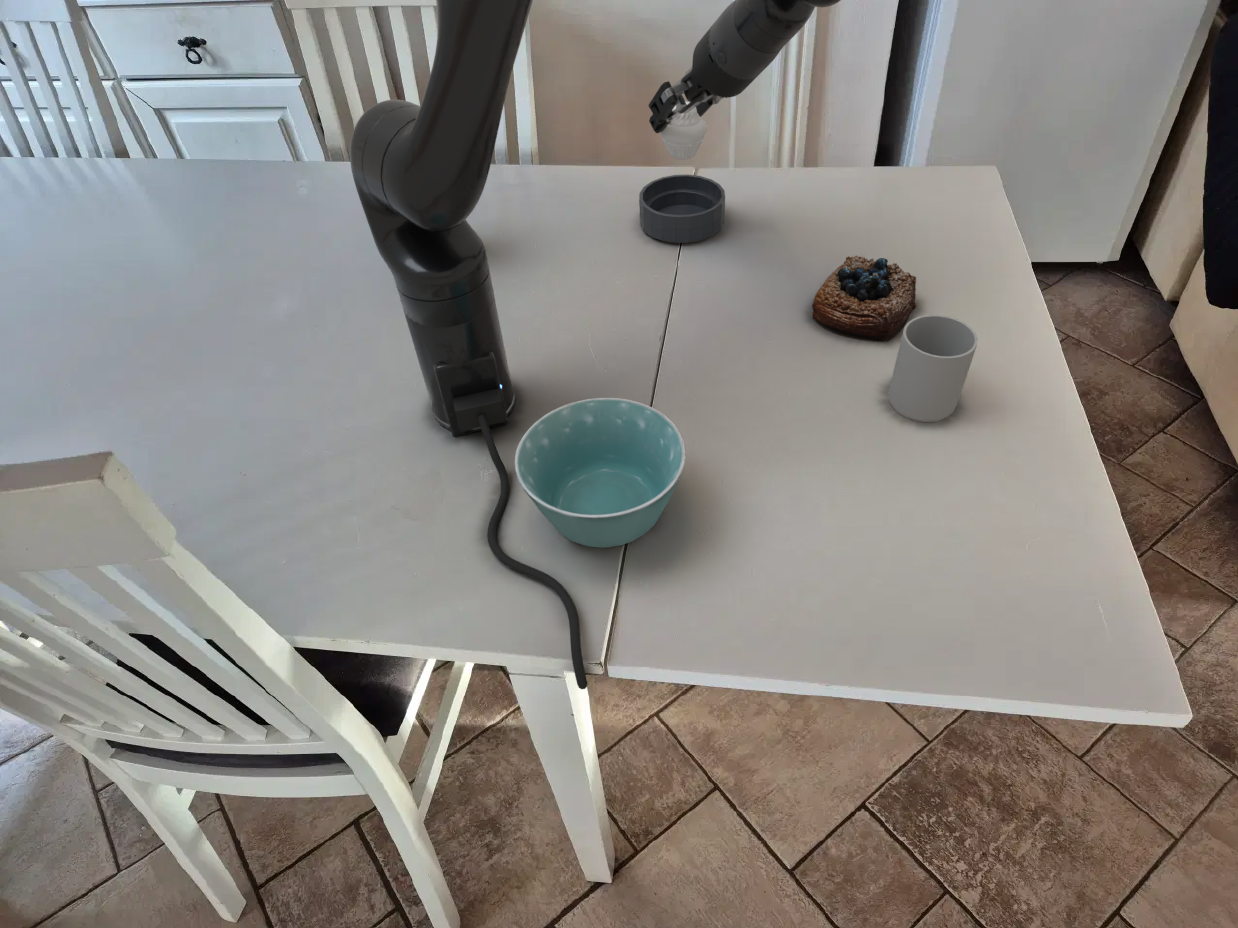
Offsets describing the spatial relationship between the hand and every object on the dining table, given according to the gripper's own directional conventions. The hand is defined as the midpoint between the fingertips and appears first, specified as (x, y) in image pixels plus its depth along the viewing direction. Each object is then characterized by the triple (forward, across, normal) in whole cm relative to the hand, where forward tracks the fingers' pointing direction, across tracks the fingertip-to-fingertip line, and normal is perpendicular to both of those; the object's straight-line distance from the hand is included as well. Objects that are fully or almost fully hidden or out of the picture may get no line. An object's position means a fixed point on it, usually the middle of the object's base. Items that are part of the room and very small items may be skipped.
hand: (674, 118), depth 106 cm
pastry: (-11, -4, +34) cm, 36 cm away
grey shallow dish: (+10, -1, +11) cm, 15 cm away
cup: (-22, +2, +44) cm, 49 cm away
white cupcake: (+2, 0, +4) cm, 5 cm away
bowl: (-16, +40, +38) cm, 57 cm away
